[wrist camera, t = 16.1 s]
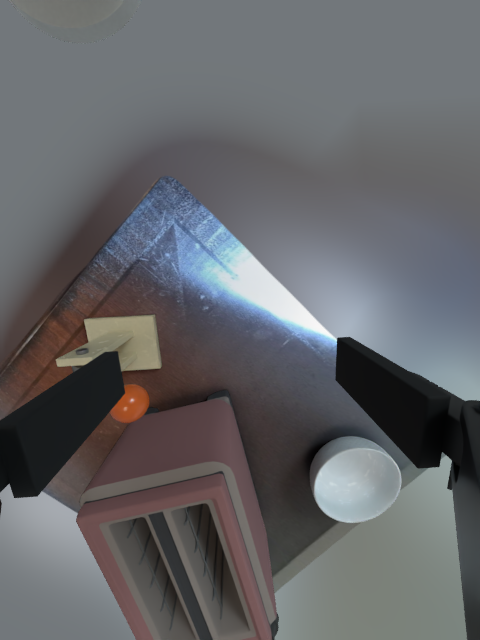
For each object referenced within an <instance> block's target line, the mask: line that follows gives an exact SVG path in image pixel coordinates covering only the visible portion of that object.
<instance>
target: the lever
mask: <svg viewBox="0 0 480 640" xmlns="http://www.w3.org/2000/svg"><path fill="white" fill-rule="evenodd" d="M82 366H84V365H78V366H72V370H73V372H75V371H76V370H78V369H79V368H81V367H82ZM124 389H125V394H124V395H123V397H122V398H121V399H120V400H119V401H118V402H117V404H116V405H115V406H114V407H113V408H112V409H111V411H110V414H111V416H112V417H113V418H114V419H115V420H117V421H118V422H121V423H131V422H134V421H137V420H138V419H140V418H141V417H142V416H143V415H144V414H145V413H146V411H147V409H148V406H149V395H148V393H147V391H146V390H145V389H144V388H143V387H141V386H139V385H135V384H129V385H125V386H124Z"/></svg>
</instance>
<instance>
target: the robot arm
mask: <svg viewBox="0 0 480 640" xmlns="http://www.w3.org/2000/svg"><path fill="white" fill-rule="evenodd" d="M336 381H337V382H338V383H339V384H340V385H341V386H342V387H343V388H344V389H345V390H346V392H347V393H348V394H349V395H350V396H351V397H352V398H353V399H354V400H355V401H356V402H357V403H358V404H359V406H360V407H361V408H362V409H363V410H364V411H365V412H366V413H367V414H368V415H369V416H370V417H371V418H372V420H373V421H374V422H375V423H376V424H377V425H378V426H379V427H380V428H381V429H382V430H383V431H384V432H385V433H386V435H387V436H388V437H389V438H390V439H391V440H392V441H393V442H394V443H395V444H396V445H397V446H398V447H399V449H400V450H401V451H402V452H403V453H404V454H405V455H406V456H407V457H408V458H409V459H410V460H411V461H412V463H413V464H414V465H415V466H416V467H417V468H431V467H439V466H440V460H441V454H442V452H443V453H444V454H446V455H447V456H448V457H449V458H450V459H451V460H452V464H451V470H450V476H449V481H448V487H447V488H448V489H450V490H453V500H454V510H455V520H456V531H457V539H458V550H459V561H460V571H461V581H462V590H463V601H464V611H465V622H466V632H467V640H480V401H476V400H475V401H474V400H469V401H464V400H462V399H460V398H458V397H457V396H455V395H454V394H451V393H450V392H448V391H446V390H445V389H443V388H441V387H438V385H436V384H434V383H432V382H430V381H429V380H427V379H425V378H424V377H422V376H420V375H418V374H415V373H412V372H409V371H407V370H405V369H404V368H402V367H400V366H398V365H397V364H395V363H393V362H392V361H390V360H388V359H387V358H385V357H383V356H381V355H380V354H378V353H376V352H375V351H373V350H371V349H369V348H368V347H366V346H364V345H362V344H361V343H359V342H357V341H356V340H354V339H352V338H350V337H343V338H337V357H336ZM124 394H125V389H124V383H123V377H122V372H121V366H120V360H119V355H118V351H111V352H104V353H102V354H101V355H99V356H98V357H96V358H95V359H93V360H92V361H90V362H89V363H87V364H86V365H84V366H82V367H81V368H79V369H78V370H76V371H75V372H73V373H72V374H70V375H69V376H67V377H66V378H64V379H63V380H61V381H60V382H58V383H57V384H55V385H54V386H52V387H51V388H49V389H47V390H46V391H44V392H43V393H41V394H40V395H38V396H37V397H35V398H34V399H32V400H31V401H29V402H28V403H26V404H25V405H23V406H22V407H20V408H19V409H17V410H15V411H14V412H12V413H11V414H9V415H8V416H6V417H5V418H3V419H2V420H0V492H1V491H2V490H3V489H4V488H5V487H6V486H7V485H8V484H9V483H10V486H11V490H12V492H13V496H14V498H21V497H34V496H38V495H39V494H40V492H41V491H42V490H43V489H44V488H45V487H46V486H47V484H48V483H49V482H50V481H51V480H52V479H53V477H54V476H55V475H56V474H57V473H58V472H59V470H60V469H61V468H62V467H63V466H64V465H65V463H66V462H67V461H68V460H69V459H70V457H71V456H72V455H73V454H74V453H75V452H76V450H77V449H78V448H79V447H80V446H81V445H82V443H83V442H84V441H85V440H86V439H87V438H88V436H89V435H90V434H91V433H92V432H93V431H94V429H95V428H96V427H97V426H98V425H99V423H100V422H101V421H102V420H103V419H104V418H105V416H106V415H107V414H108V413H109V412H110V411H111V409H112V408H113V407H114V406H115V405H116V404H117V402H118V401H119V400H120V399H121V398H122V397H123V395H124ZM1 504H2V503H1V500H0V513H1Z"/></svg>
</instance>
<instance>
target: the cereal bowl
mask: <svg viewBox="0 0 480 640" xmlns="http://www.w3.org/2000/svg"><path fill="white" fill-rule="evenodd" d="M309 476H310V485H311V489H312V493H313V496H314V498H315V501H316V503H317V505H318V506H319V507H320V509H321V510H322V511H323V512H324V513H325V514H326V515H328V516H329V517H331V518H333V519H335V520H338V521H341V522H348V523H356V522H363V521H367V520H370V519H372V518H374V517H377V516H378V515H380V514H381V513H383V512H384V511H386V510H387V509H388V508H389V507H390V506H391V505H392V504H393V503H394V501H395V500H396V498H397V496H398V494H399V491H400V488H401V473H400V470H399V468H398V466H397V464H396V463H395V461H394V460H393V459H392V458H391V456H390V455H389V454H388V453H387V452H386V451H385V450H384V449H382V448H381V447H380V446H378V445H377V444H376V443H374V442H372V441H370V440H367V439H364V438H361V437H356V436H346V437H340V438H337V439H334V440H331V441H330V442H328V443H327V444H325V445H324V446H323V447H322V448H321V449H320V450H319V451H318V452H317V454H316V455H315V457H314V459H313V461H312V464H311V467H310V475H309Z"/></svg>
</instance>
